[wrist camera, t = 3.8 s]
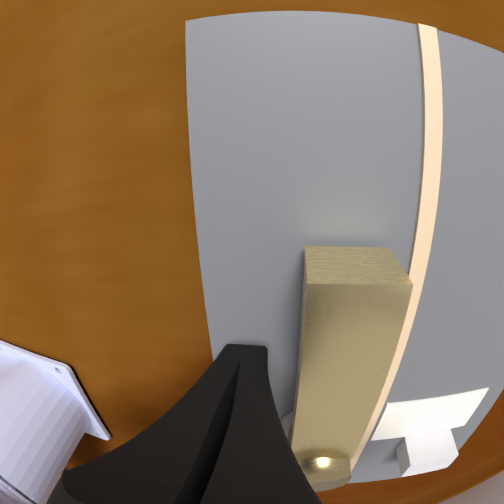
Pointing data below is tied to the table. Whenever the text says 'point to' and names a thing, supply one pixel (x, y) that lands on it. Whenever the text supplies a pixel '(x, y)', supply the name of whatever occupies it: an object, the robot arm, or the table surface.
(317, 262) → the bar
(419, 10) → the table surface
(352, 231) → the lock board
